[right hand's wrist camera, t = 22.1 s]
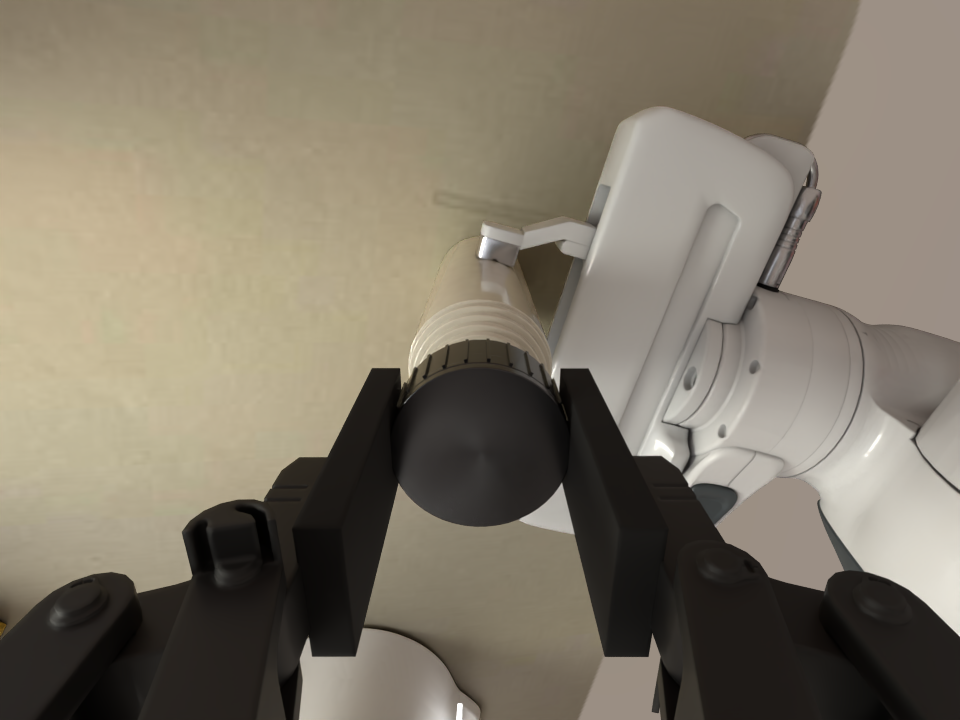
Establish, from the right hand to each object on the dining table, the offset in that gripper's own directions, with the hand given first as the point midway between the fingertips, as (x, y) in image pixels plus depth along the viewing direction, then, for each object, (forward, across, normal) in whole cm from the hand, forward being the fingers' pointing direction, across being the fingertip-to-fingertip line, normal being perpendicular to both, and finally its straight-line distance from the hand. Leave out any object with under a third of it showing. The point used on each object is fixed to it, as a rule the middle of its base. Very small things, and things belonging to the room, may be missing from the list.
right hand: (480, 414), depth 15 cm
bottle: (+17, 0, 0) cm, 17 cm away
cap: (-2, 0, 0) cm, 2 cm away
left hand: (+11, -1, 0) cm, 11 cm away
